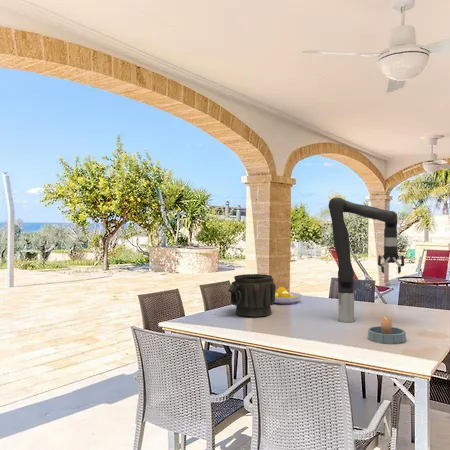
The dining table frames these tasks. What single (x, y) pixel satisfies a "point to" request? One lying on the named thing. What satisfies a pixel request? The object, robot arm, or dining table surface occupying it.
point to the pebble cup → (386, 325)
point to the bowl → (386, 335)
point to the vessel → (253, 294)
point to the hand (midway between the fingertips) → (391, 273)
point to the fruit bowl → (285, 296)
